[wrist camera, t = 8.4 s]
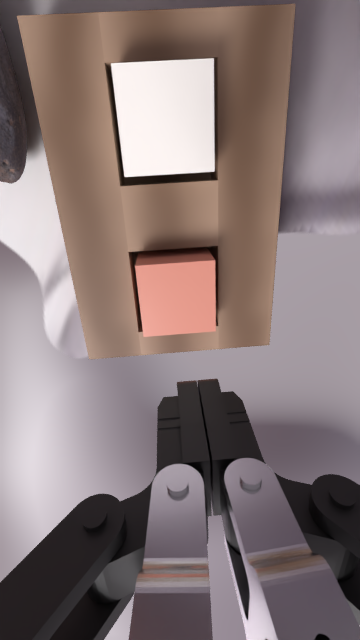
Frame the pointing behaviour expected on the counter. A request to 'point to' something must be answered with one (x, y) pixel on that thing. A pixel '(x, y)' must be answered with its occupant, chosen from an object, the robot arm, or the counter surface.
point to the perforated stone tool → (10, 120)
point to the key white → (165, 116)
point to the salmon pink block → (176, 291)
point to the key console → (173, 189)
